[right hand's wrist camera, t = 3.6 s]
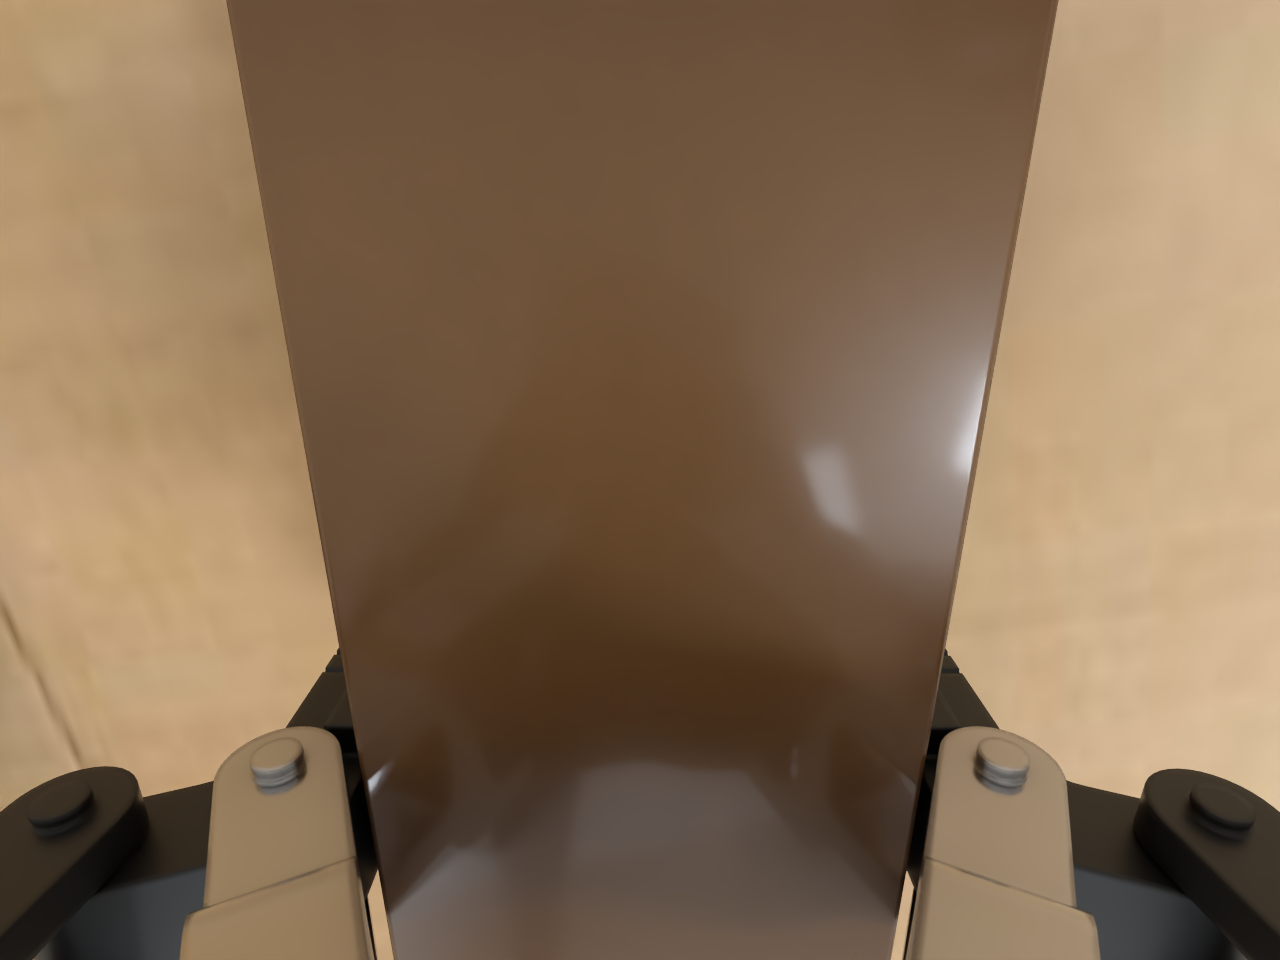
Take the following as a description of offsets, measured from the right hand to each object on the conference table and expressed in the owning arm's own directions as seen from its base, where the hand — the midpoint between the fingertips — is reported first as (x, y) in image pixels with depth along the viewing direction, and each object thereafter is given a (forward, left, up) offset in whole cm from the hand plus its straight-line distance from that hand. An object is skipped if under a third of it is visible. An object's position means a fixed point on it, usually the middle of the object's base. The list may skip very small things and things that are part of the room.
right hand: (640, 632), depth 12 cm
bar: (+5, +9, -4) cm, 11 cm away
